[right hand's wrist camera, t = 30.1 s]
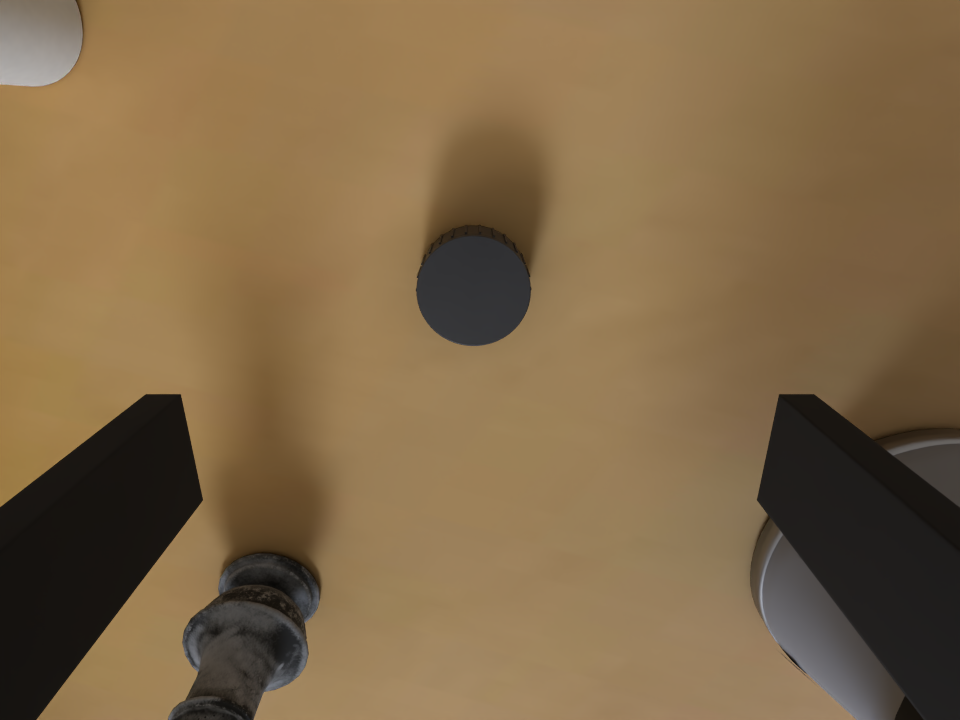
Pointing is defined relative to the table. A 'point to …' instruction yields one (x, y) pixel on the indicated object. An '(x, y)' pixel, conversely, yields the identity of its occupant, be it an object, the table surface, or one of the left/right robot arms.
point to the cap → (473, 286)
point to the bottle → (38, 40)
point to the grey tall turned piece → (248, 637)
